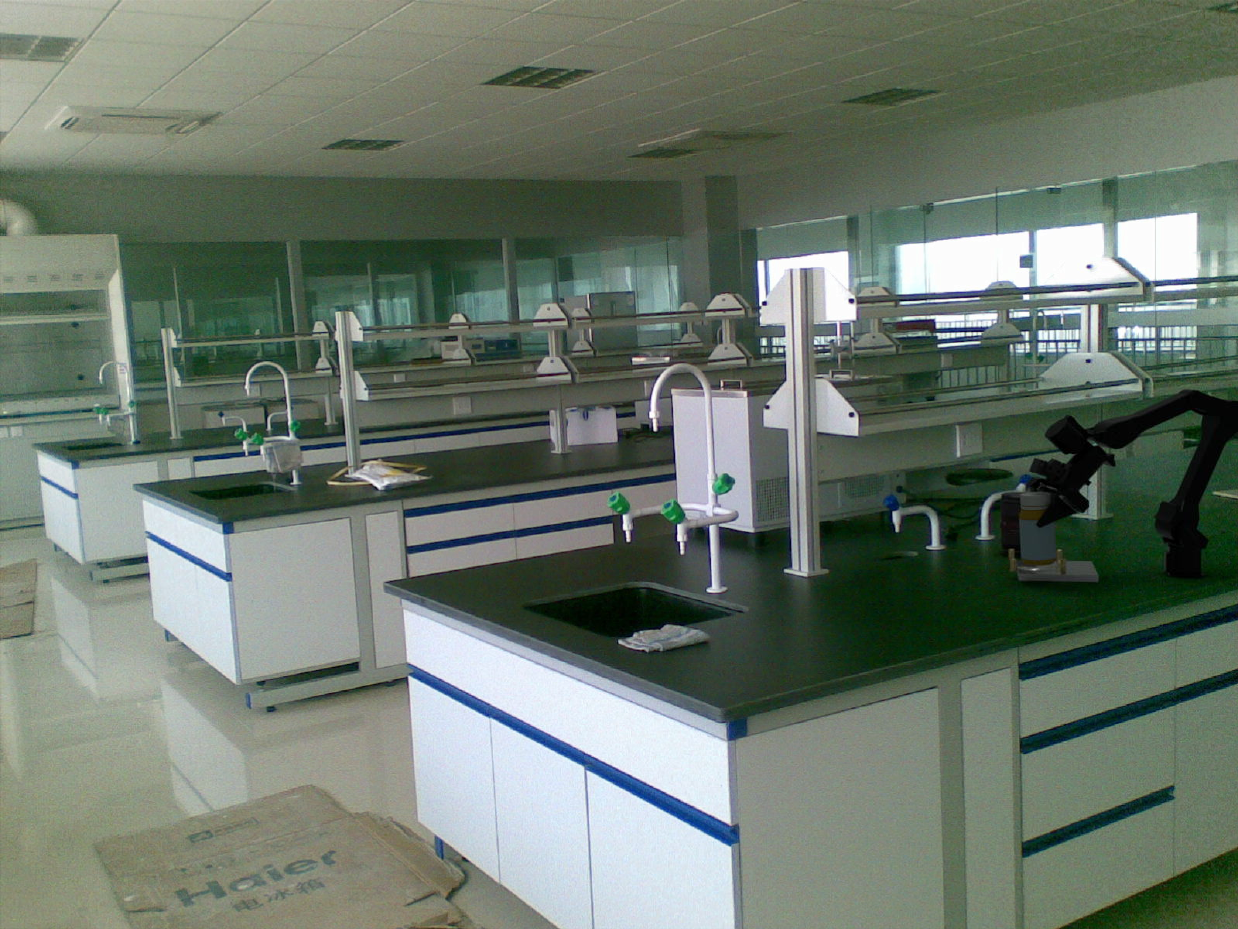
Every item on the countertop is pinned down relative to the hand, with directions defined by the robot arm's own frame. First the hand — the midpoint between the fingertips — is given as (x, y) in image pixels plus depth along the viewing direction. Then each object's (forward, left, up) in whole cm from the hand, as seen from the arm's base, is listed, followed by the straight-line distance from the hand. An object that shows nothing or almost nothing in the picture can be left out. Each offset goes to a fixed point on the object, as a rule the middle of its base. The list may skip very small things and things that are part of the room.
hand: (1030, 523), depth 232 cm
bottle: (-2, 0, -9) cm, 9 cm away
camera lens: (+1, -30, -13) cm, 33 cm away
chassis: (-6, -10, -13) cm, 17 cm away
